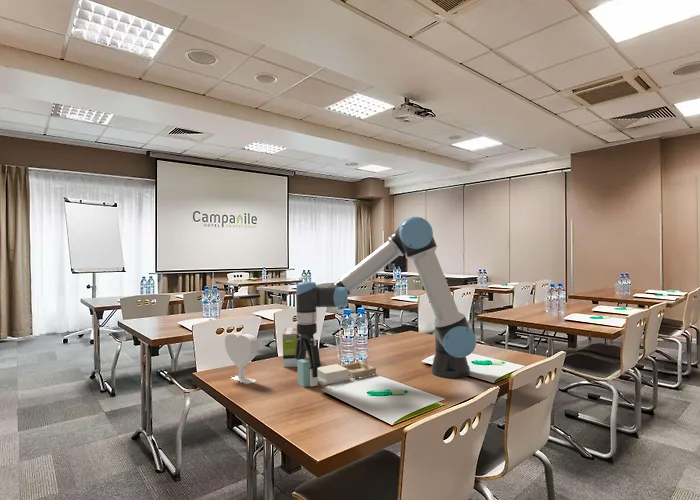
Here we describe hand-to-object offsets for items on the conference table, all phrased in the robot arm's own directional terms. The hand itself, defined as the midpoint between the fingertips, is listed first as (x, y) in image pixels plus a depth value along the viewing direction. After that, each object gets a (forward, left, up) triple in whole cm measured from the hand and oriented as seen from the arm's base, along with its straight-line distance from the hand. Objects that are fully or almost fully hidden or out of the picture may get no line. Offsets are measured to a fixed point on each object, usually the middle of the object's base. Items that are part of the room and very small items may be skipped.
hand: (307, 381), depth 152 cm
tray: (0, -22, -1) cm, 22 cm away
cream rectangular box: (0, -10, -1) cm, 10 cm away
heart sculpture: (+20, +19, -1) cm, 28 cm away
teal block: (0, 0, -1) cm, 1 cm away
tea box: (+31, -9, -1) cm, 32 cm away
